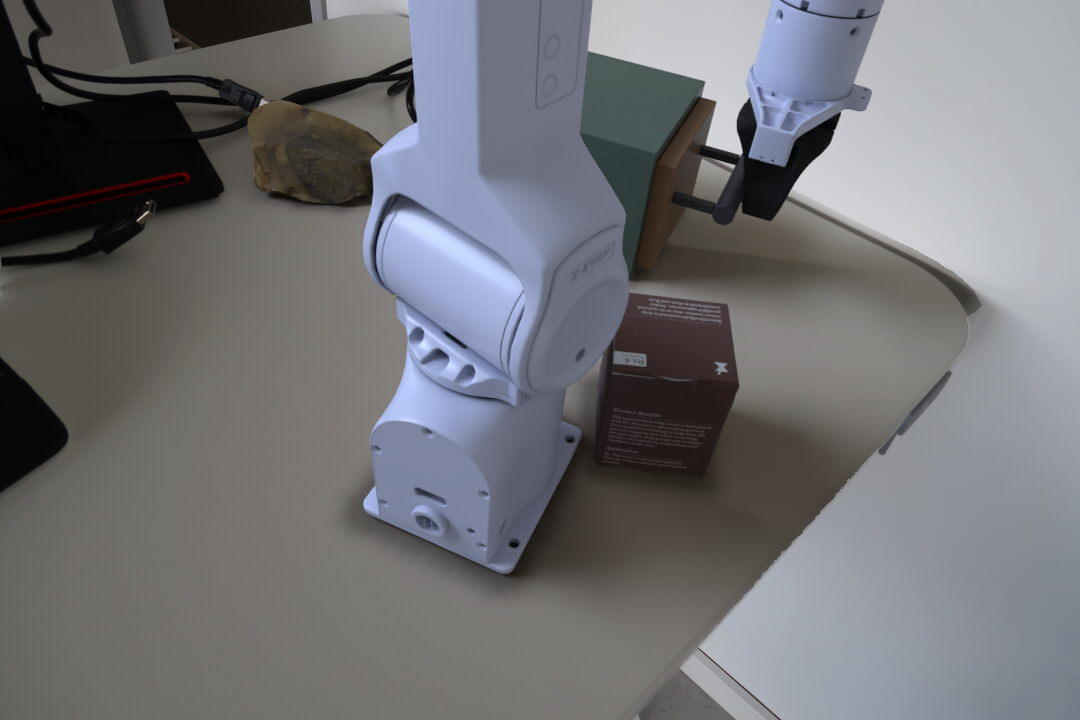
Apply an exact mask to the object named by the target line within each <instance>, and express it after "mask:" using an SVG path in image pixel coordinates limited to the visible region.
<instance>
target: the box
mask: <svg viewBox="0 0 1080 720" xmlns="http://www.w3.org/2000/svg"><path fill="white" fill-rule="evenodd" d="M730 316H731V315H730V310H729V304H728V303H723V302H722V303H720V302H712V301H704V300H695V299H687V298H679V297H678V298H677V297H669V296H660V295H652V294H645V293H636V292H629V297H628V303H627V307H626V311H625V314H624V317H623V319H622V322H621V324H620V326H619V328H618V330H617V332H616V334H615V336H614V338H613V340H612V341H611V343H610V345H609V346H608V348H607V349H606V351H605V352H604V353H603V355H602V356H601V362H600V367H599V372H598V377H597V382H596V399H595V429H594V433H595V434H594V453H593V454H594V455H593V456H594V457H593V459H594V460H593V461H594V465H595V466H599V467H608V468H609V467H610V468H618V469H626V470H627V469H628V470H636V471H645V472H655V473H662V474H670V475H679V476H680V475H681V476H688V477H696V478H697V477H698V478H704V477H706V474H707V471H708V469H709V467H710V464H711V461H712V459H713V456H714V453H715V451H716V449H717V445H718V442H719V440H720V437H721V435H722V433H723V429H724V427H725V424H726V421H727V419H728V417H729V414H730V413H731V410H732V407H733V405H734V402H735V399H736V396H737V393H738V391H739V389H740V388H741V385H740V380H739V373H738V366H737V360H736V353H735V346H734V338H733V332H732V331H733V329H732V324H731V317H730Z"/></svg>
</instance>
